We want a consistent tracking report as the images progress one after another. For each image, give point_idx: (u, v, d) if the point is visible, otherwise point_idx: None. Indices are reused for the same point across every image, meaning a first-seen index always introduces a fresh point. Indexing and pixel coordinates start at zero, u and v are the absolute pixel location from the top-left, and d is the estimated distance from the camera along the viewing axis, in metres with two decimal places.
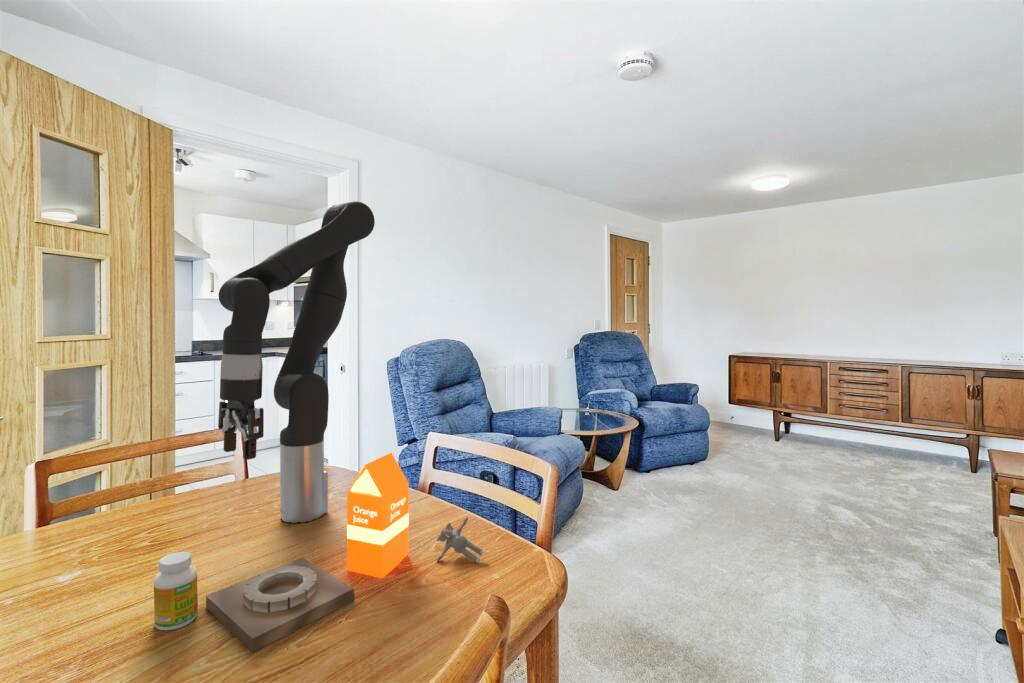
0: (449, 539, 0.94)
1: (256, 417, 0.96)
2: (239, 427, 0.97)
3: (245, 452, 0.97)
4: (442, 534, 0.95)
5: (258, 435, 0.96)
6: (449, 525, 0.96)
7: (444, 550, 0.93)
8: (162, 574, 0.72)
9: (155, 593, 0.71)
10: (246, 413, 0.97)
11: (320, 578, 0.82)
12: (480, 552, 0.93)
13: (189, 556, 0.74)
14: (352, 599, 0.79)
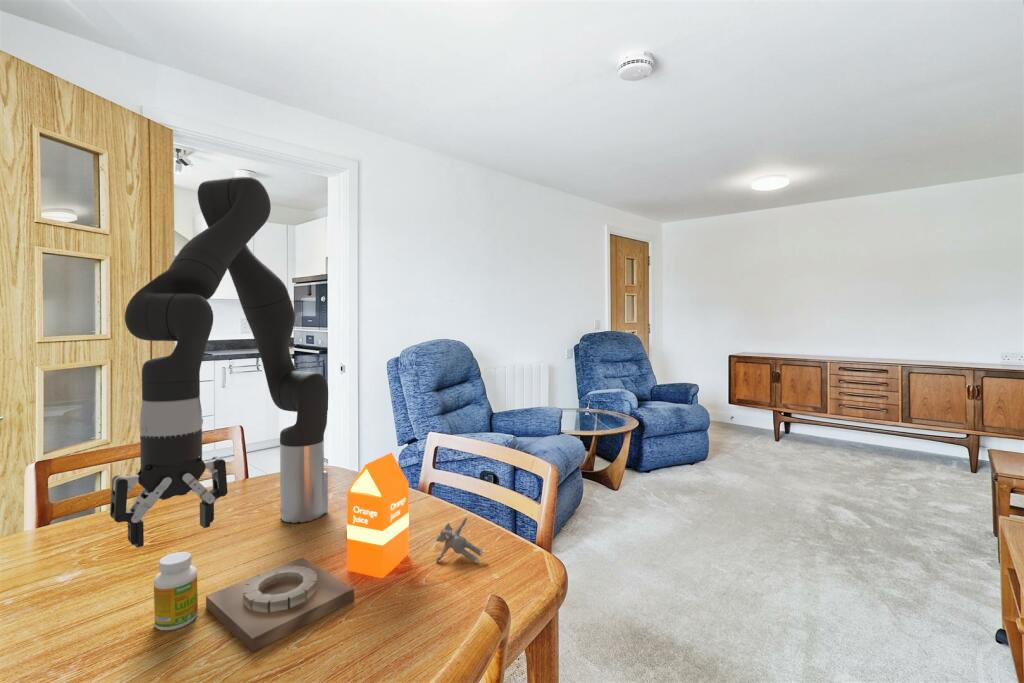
0: (448, 540, 0.94)
1: None
2: (202, 490, 0.74)
3: (209, 518, 0.76)
4: (441, 535, 0.94)
5: None
6: (448, 525, 0.96)
7: (443, 551, 0.93)
8: (162, 574, 0.72)
9: (155, 593, 0.71)
10: (204, 470, 0.75)
11: (320, 578, 0.82)
12: (479, 552, 0.93)
13: (189, 556, 0.74)
14: (352, 599, 0.79)
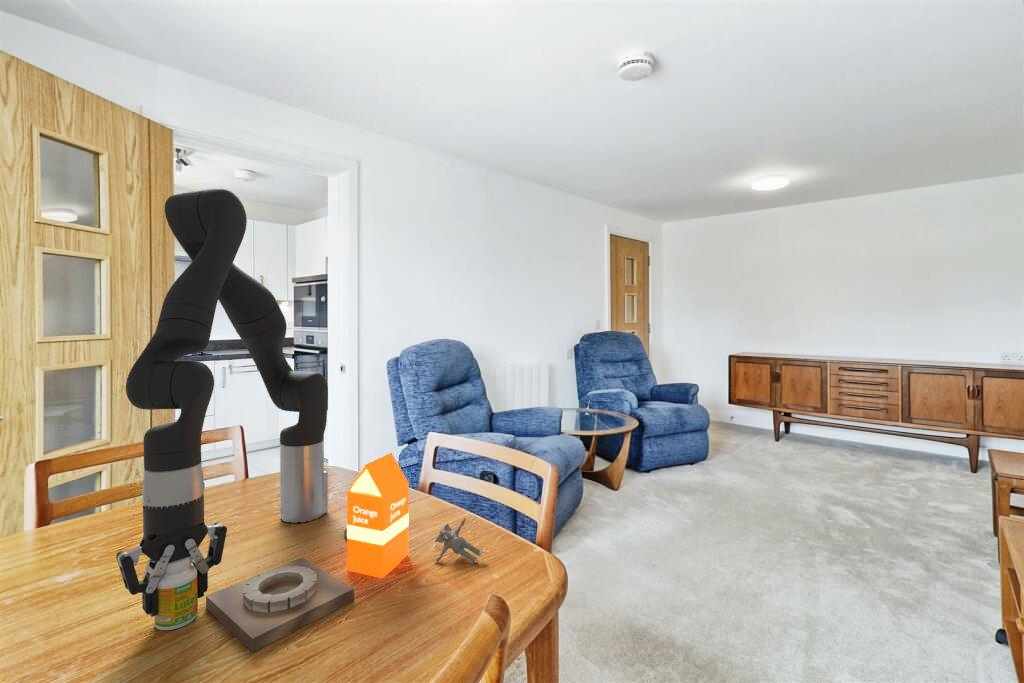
0: (447, 540, 0.94)
1: None
2: (199, 558, 0.74)
3: (203, 587, 0.76)
4: (440, 535, 0.94)
5: None
6: (447, 526, 0.95)
7: (442, 551, 0.93)
8: None
9: None
10: (205, 534, 0.76)
11: (320, 578, 0.82)
12: (479, 553, 0.92)
13: (189, 556, 0.74)
14: (352, 599, 0.79)
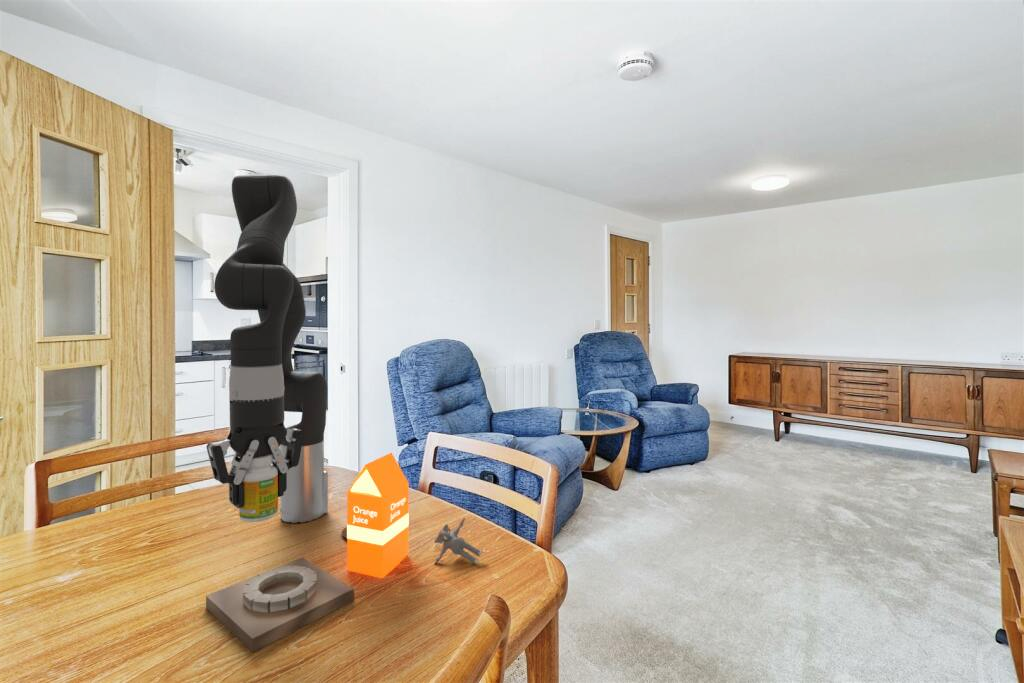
0: (447, 541, 0.94)
1: None
2: (280, 457, 0.77)
3: (282, 487, 0.78)
4: (439, 536, 0.94)
5: None
6: (446, 526, 0.95)
7: (442, 552, 0.93)
8: (247, 469, 0.75)
9: None
10: (285, 436, 0.79)
11: (320, 578, 0.82)
12: (478, 553, 0.92)
13: None
14: (352, 599, 0.79)
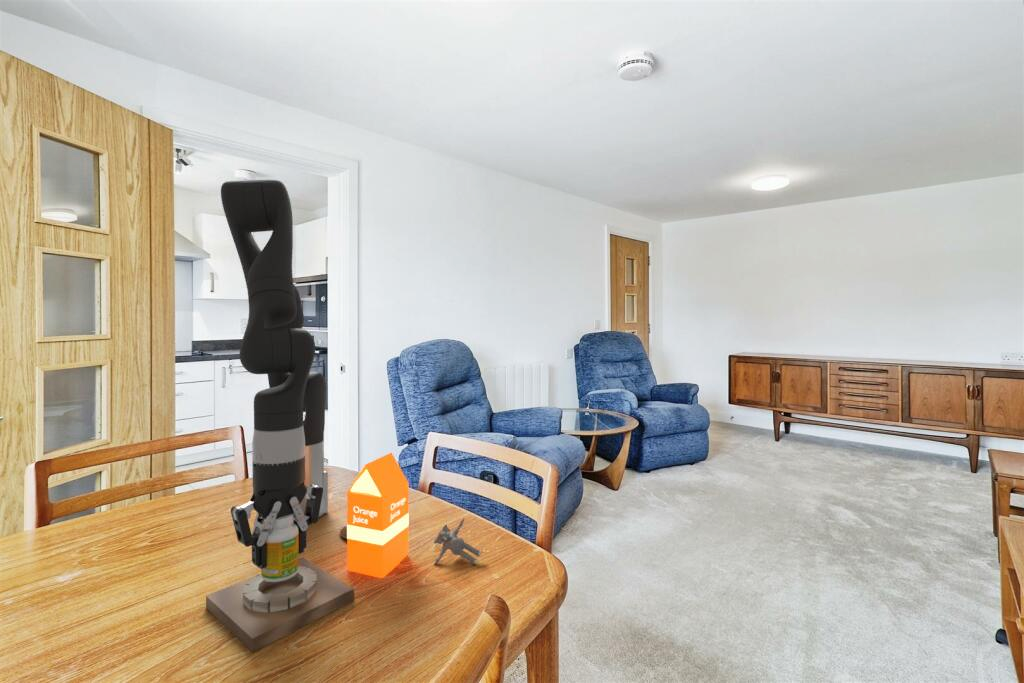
0: (446, 541, 0.93)
1: None
2: (301, 516, 0.79)
3: (302, 544, 0.80)
4: (439, 536, 0.94)
5: None
6: (446, 527, 0.95)
7: (441, 553, 0.93)
8: None
9: None
10: (305, 494, 0.80)
11: (320, 578, 0.82)
12: (478, 553, 0.92)
13: None
14: (352, 599, 0.79)
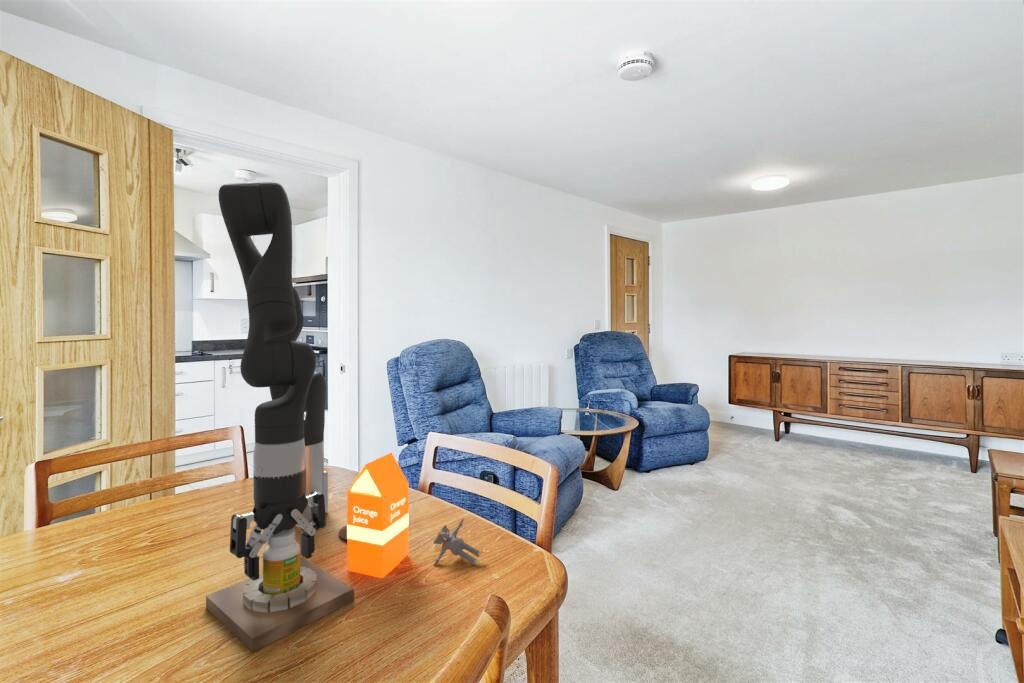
0: (446, 541, 0.93)
1: None
2: (306, 524, 0.79)
3: (311, 549, 0.81)
4: (438, 537, 0.93)
5: None
6: (445, 527, 0.95)
7: (441, 553, 0.92)
8: (271, 547, 0.76)
9: (265, 565, 0.76)
10: (307, 504, 0.80)
11: (320, 578, 0.82)
12: (478, 553, 0.92)
13: (293, 531, 0.78)
14: (352, 599, 0.79)
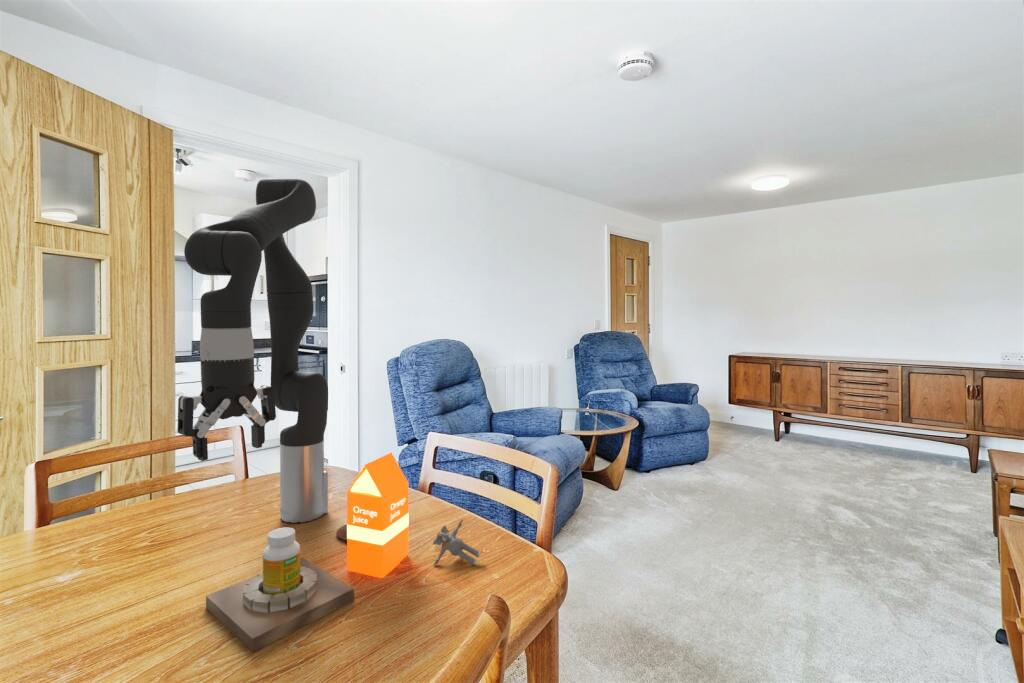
0: (445, 542, 0.93)
1: None
2: (255, 413, 0.82)
3: (261, 439, 0.84)
4: (438, 537, 0.93)
5: None
6: (444, 528, 0.95)
7: (440, 554, 0.92)
8: (271, 547, 0.76)
9: (265, 565, 0.76)
10: (256, 395, 0.83)
11: (320, 578, 0.82)
12: (477, 554, 0.92)
13: (294, 531, 0.78)
14: (352, 599, 0.79)
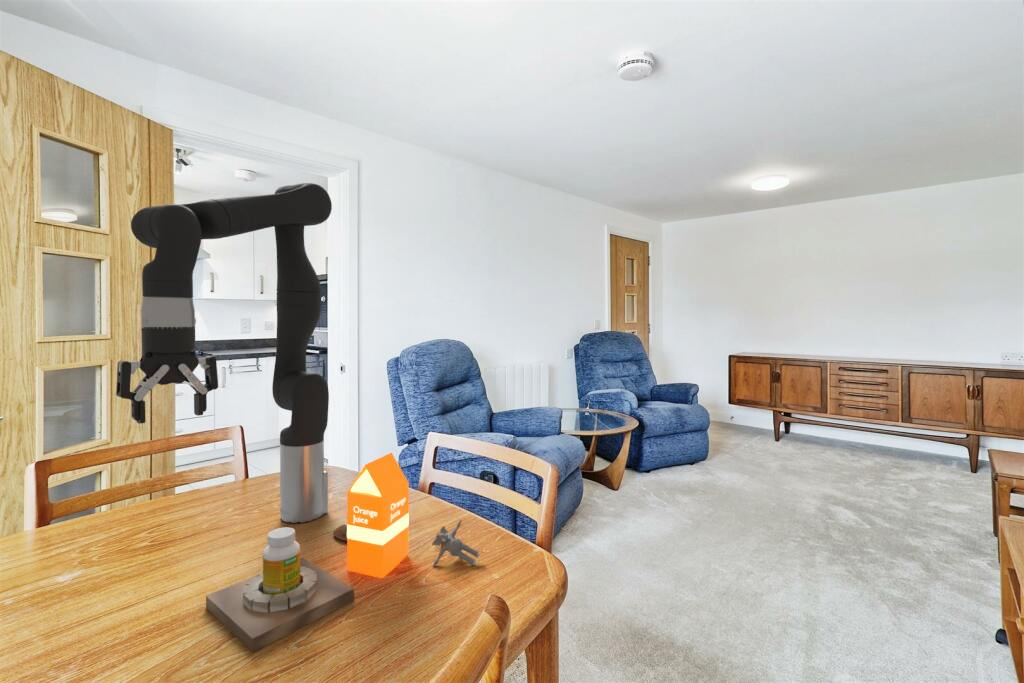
0: (444, 543, 0.93)
1: None
2: (195, 380, 0.85)
3: (202, 407, 0.87)
4: (437, 538, 0.93)
5: None
6: (443, 528, 0.94)
7: (440, 554, 0.92)
8: (271, 547, 0.76)
9: (265, 565, 0.76)
10: (197, 364, 0.86)
11: (320, 578, 0.82)
12: (477, 554, 0.92)
13: (293, 531, 0.78)
14: (352, 599, 0.79)
